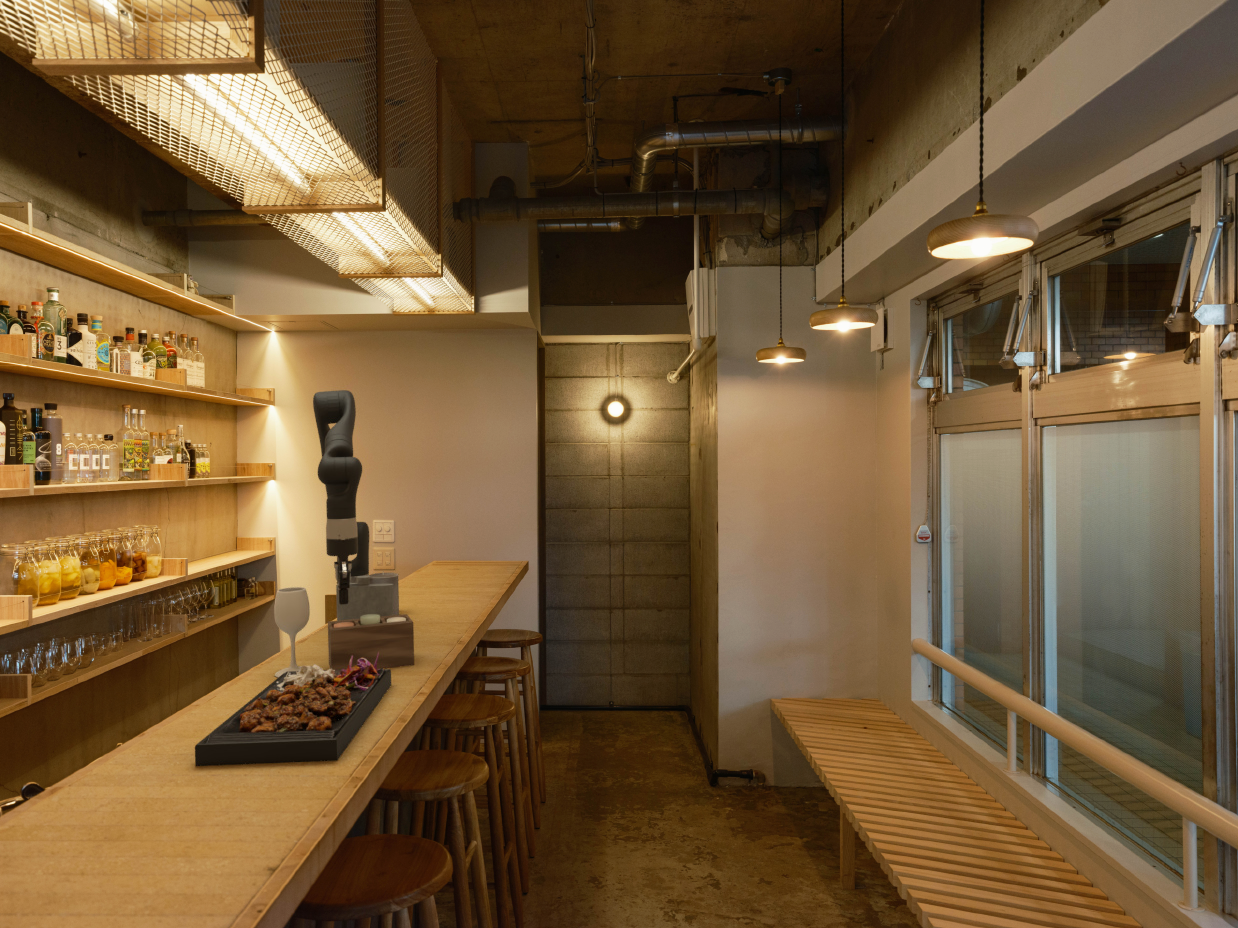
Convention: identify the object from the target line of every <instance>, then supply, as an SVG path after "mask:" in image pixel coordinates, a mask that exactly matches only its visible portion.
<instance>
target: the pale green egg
mask: <svg viewBox="0 0 1238 928" xmlns="http://www.w3.org/2000/svg"><path fill="white" fill-rule="evenodd" d="M360 620H361V625H368V624H378V623H380V615H378V614H368V615H363V616H361V617H360Z"/></svg>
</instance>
